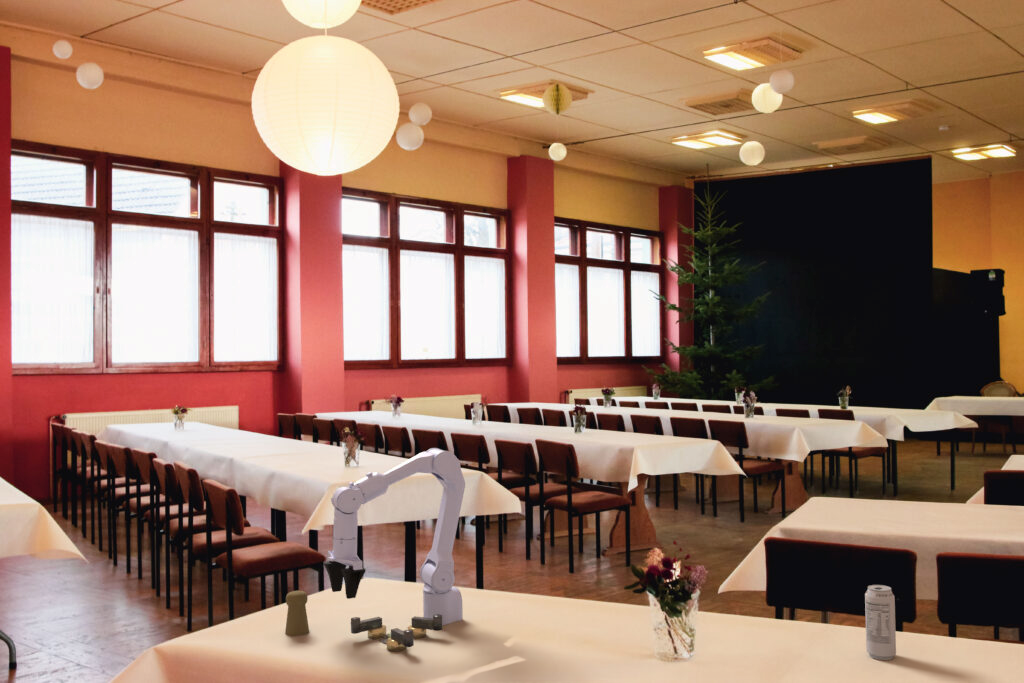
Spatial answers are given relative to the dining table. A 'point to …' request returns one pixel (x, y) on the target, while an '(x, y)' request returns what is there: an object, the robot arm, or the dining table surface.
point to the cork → (296, 614)
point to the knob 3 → (425, 625)
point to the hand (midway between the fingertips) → (343, 594)
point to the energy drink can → (880, 622)
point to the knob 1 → (369, 627)
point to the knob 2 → (400, 640)
